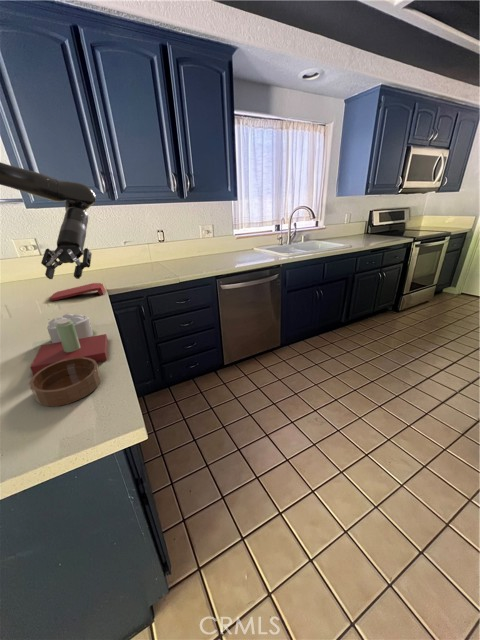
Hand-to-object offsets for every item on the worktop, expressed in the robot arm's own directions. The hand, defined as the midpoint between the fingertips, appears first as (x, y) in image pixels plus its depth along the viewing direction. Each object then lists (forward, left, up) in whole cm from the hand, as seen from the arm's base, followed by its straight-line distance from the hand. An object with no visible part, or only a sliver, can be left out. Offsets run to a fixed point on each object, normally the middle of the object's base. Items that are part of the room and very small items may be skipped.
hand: (62, 277), depth 84 cm
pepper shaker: (-2, -7, -22) cm, 23 cm away
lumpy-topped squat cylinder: (-4, +8, -25) cm, 27 cm away
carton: (-8, +64, -25) cm, 69 cm away
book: (-2, -7, -25) cm, 26 cm away
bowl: (-1, -25, -25) cm, 35 cm away
